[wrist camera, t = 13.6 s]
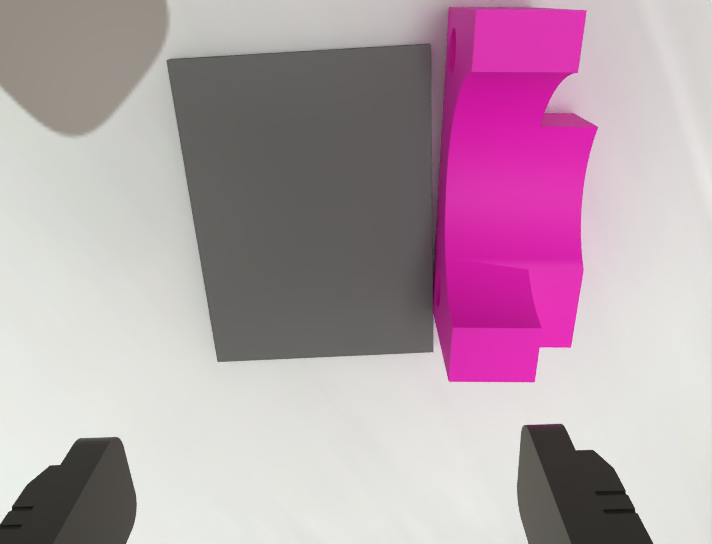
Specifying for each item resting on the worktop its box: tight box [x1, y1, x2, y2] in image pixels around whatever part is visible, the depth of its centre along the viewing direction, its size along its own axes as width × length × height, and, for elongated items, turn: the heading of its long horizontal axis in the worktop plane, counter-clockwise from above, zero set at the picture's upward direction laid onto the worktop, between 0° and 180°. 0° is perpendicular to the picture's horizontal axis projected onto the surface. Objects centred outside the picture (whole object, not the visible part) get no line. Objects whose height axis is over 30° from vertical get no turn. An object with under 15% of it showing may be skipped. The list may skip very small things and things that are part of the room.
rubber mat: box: [167, 44, 433, 362], centre depth 32 cm, size 16×12×1 cm
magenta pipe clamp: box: [433, 7, 598, 382], centre depth 28 cm, size 15×6×8 cm, turn 0°
